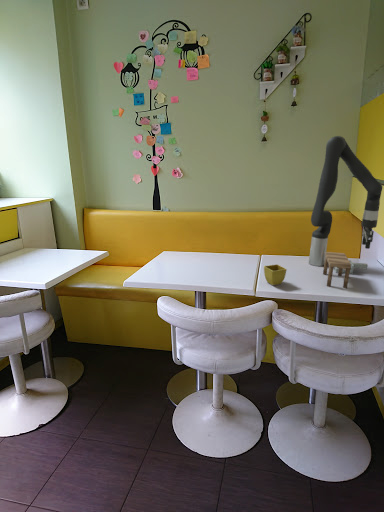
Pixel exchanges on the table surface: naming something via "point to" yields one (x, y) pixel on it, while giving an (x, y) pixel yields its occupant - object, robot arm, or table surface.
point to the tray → (352, 267)
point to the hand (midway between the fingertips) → (365, 246)
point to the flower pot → (274, 274)
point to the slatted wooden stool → (336, 261)
